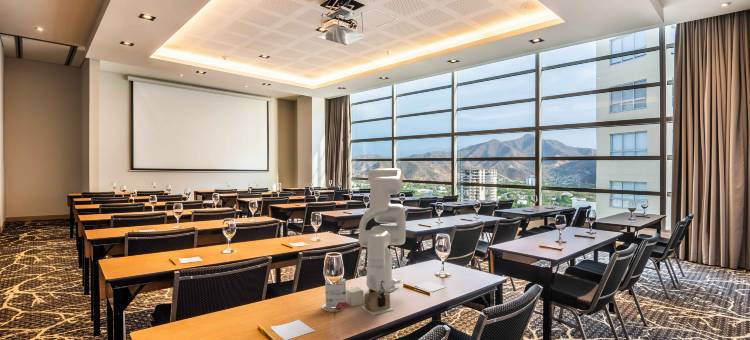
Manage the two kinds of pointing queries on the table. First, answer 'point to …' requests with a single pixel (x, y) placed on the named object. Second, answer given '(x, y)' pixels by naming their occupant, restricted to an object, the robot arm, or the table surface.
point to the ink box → (336, 294)
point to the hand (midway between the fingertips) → (377, 303)
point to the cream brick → (354, 296)
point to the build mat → (378, 311)
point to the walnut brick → (375, 301)
